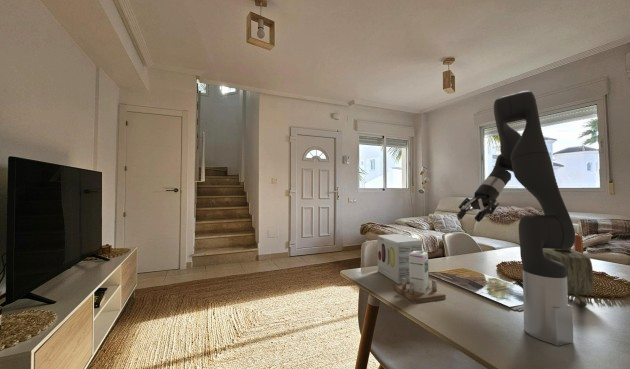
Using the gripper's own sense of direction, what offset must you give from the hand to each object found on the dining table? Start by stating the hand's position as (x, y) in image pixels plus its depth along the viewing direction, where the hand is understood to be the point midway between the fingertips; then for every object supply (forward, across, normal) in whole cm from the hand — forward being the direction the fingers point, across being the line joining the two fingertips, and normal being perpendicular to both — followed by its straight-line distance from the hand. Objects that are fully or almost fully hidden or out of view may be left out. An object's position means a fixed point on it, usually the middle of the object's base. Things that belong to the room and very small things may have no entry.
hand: (467, 218), depth 101 cm
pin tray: (+35, -3, +6) cm, 35 cm away
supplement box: (+32, -23, +9) cm, 41 cm away
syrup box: (+34, -3, +5) cm, 34 cm away
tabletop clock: (+2, +15, +39) cm, 42 cm away
